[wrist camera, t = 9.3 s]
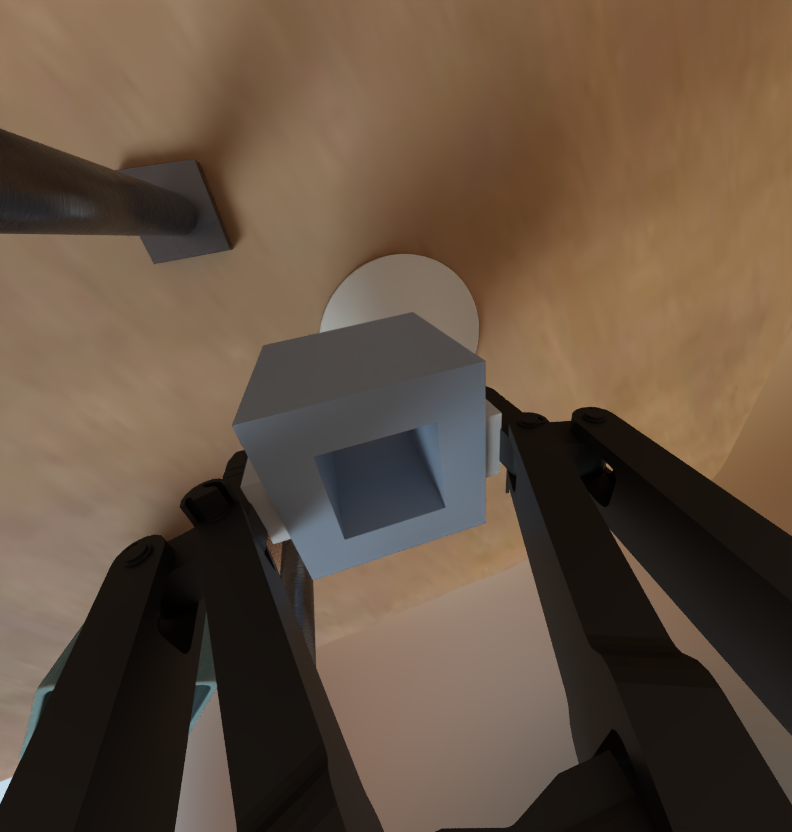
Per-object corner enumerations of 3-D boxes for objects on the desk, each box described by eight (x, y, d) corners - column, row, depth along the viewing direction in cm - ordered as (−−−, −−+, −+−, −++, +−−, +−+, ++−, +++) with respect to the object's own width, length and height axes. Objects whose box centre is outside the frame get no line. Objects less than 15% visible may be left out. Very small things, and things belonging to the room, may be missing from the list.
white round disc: (342, 430, 23) (343, 435, 23) (294, 273, 18) (294, 274, 17) (476, 393, 25) (480, 396, 24) (473, 238, 19) (477, 237, 19)
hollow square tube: (310, 464, 17) (312, 580, 12) (263, 345, 14) (231, 425, 8) (427, 431, 18) (485, 522, 12) (412, 311, 15) (485, 361, 9)
